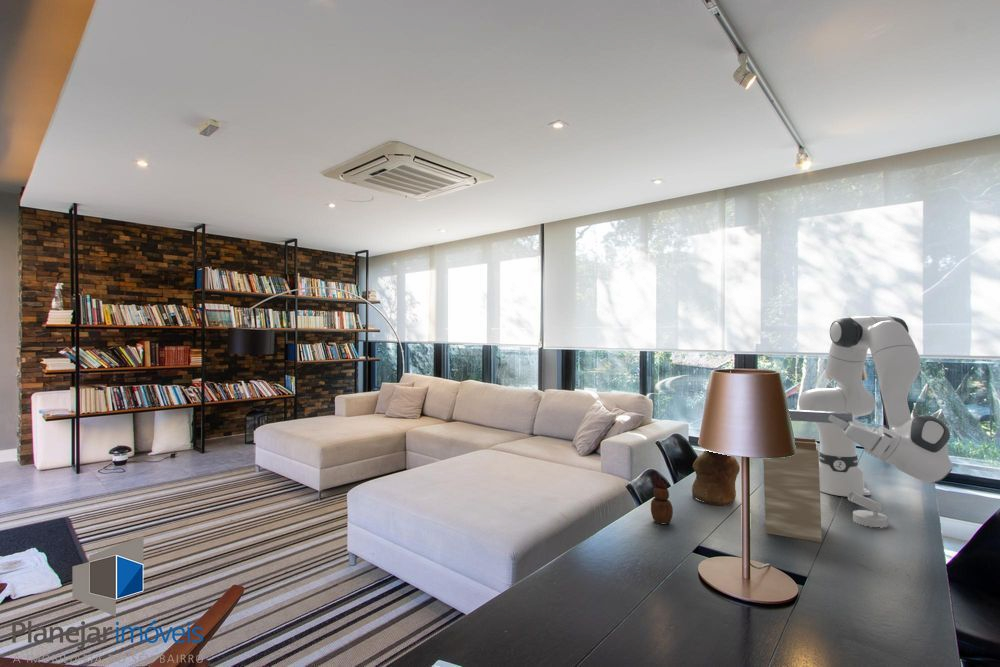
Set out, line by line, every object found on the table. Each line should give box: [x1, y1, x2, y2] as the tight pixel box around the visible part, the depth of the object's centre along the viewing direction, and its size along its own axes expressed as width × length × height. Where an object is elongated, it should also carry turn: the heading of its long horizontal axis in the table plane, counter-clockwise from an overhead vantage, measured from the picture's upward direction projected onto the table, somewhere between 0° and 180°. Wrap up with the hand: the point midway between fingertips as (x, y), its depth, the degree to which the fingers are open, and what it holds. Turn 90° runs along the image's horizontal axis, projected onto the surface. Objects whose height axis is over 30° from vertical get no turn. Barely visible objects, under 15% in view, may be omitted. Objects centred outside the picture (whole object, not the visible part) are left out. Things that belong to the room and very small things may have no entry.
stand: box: [762, 436, 823, 543], centre depth 146 cm, size 14×14×28 cm
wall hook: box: [847, 492, 889, 529], centre depth 149 cm, size 9×10×10 cm
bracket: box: [788, 409, 854, 423], centre depth 146 cm, size 3×20×8 cm, turn 58°
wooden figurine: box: [650, 474, 674, 524], centre depth 153 cm, size 7×6×15 cm
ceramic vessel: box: [691, 450, 741, 506], centre depth 171 cm, size 16×22×30 cm
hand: (828, 415), depth 144 cm, fingers closed on bracket, 3 cm apart
